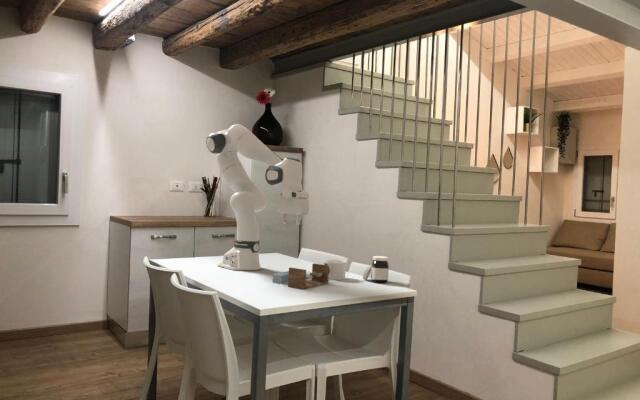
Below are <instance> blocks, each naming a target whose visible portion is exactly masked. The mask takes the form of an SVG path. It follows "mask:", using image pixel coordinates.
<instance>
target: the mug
mask: <svg viewBox="0 0 640 400" xmlns="http://www.w3.org/2000/svg"><path fill="white" fill-rule="evenodd" d="M323 262H324V263H323V265H328V266H329V281H330V280H331V281H332V280H334V281H341V279H343V280H345V279H346V271H347V270H346V269H347V261H346V260H342V259H330V258H329V259H328V258H326V259H324V260H323Z"/></svg>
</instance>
